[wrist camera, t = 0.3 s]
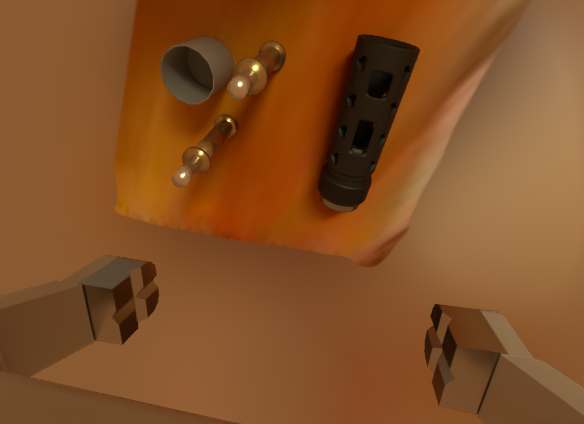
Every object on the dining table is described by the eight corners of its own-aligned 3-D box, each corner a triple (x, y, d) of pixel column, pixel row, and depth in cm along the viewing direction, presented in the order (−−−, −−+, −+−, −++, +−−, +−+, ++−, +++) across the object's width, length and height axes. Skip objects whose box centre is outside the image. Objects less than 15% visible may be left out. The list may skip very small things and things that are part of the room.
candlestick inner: (269, 34, 50) (229, 59, 33) (290, 53, 51) (263, 87, 34) (255, 57, 52) (210, 92, 35) (275, 74, 54) (242, 117, 36)
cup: (240, 81, 55) (222, 98, 47) (200, 92, 57) (176, 109, 49) (222, 29, 51) (199, 37, 43) (179, 43, 53) (149, 53, 45)
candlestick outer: (222, 109, 59) (171, 160, 41) (241, 124, 60) (199, 180, 43) (212, 126, 61) (159, 181, 44) (230, 140, 62) (186, 199, 45)
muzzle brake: (414, 43, 48) (429, 54, 40) (361, 190, 65) (363, 219, 57) (355, 30, 48) (357, 39, 40) (317, 180, 65) (313, 208, 57)
